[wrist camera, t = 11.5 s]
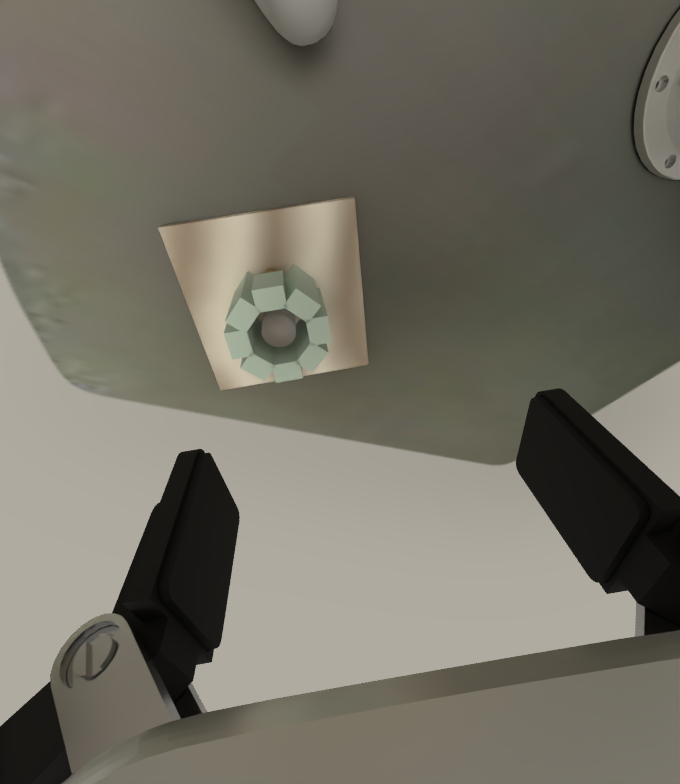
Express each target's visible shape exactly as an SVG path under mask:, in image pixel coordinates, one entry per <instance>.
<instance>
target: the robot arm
mask: <svg viewBox="0 0 680 784" xmlns="http://www.w3.org/2000/svg"><path fill="white" fill-rule="evenodd" d="M634 137H635V144H636V149H637V152H638V154H639V156H640V159H641V161H642V163H643V164H644V165H645V166H646V167H647V169H648V170H649V171H650V172H652V173H654V174H655V175H657V176H659V177H662V178H666V179H670V180H680V9H679V11H678V12H677V13H676V15H675V16H674V18H673V19H672V20H671V22H670V23H669V25H668V27H667V29H666V30H665V32H664V34H663V35H662V37H661V39H660V41H659V42H658V44H657V46H656V48H655V50H654V52H653V55H652V57H651V59H650V61H649V64H648V66H647V68H646V70H645V74H644V77H643V80H642V83H641V86H640V89H639V92H638V97H637V103H636V108H635V114H634ZM516 467H517V470H518V472H519V474H520V475H521V477H522V478H523V480H524V481H525V483H526V484H527V486H528V487H529V489H530V490H531V492H532V493H533V494H534V496H535V498H536V499H537V501H538V502H539V503H540V505H541V506H542V508H543V509H544V511H545V512H546V514H547V515H548V517H549V518H550V520H551V521H552V523H553V524H554V525H555V527H556V529H557V530H558V532H559V533H560V535H561V536H562V538H563V539H564V540H565V542H566V543H567V545H568V546H569V548H570V549H571V551H572V552H573V554H574V555H575V557H576V558H577V559H578V561H579V563H580V564H581V566H582V567H583V568H584V570H585V571H586V573H587V574H588V576H589V577H590V578H591V579H592V580H593V581H595V582H599V583H600V585H601V586H602V588H603V589H604V590H605V592H606V593H607V594H609V593H615V592H621V591H627V590H628V591H629V592H630V593H631V595H632V596H633V597H634V599H635V600H636V629H635V630H636V631H635V637H631V638H624V639H618V640H612V641H606V642H600V643H594V644H588V645H582V646H576V647H570V648H565V649H558V650H552V651H546V652H540V653H534V654H528V655H523V656H516V657H511V658H505V659H499V660H493V661H488V662H482V663H476V664H470V665H465V666H459V667H453V668H447V669H441V670H435V671H430V672H424V673H419V674H412V675H407V676H401V677H395V678H389V679H384V680H378V681H373V682H368V683H361V684H356V685H350V686H344V687H339V688H333V689H328V690H322V691H316V692H311V693H305V694H300V695H294V696H289V697H283V698H277V699H272V700H267V701H262V702H257V703H252V704H247V705H242V706H237V707H232V708H226V709H222V710H217V711H212V712H207V711H206V709H205V707H204V705H203V703H202V702H201V700H200V698H199V696H198V695H197V693H196V690H195V689H194V687H193V685H192V683H191V682H192V681H193V678H194V673H195V667H196V665H198V664H204V663H209V662H212V657H213V650H214V649H215V648H218V647H219V645H220V642H221V638H222V631H223V625H224V618H225V612H226V605H227V599H228V592H229V586H230V579H231V572H232V565H233V559H234V552H235V545H236V539H237V532H238V526H239V511H238V508H237V506H236V504H235V502H234V500H233V498H232V496H231V494H230V492H229V490H228V488H227V486H226V484H225V482H224V480H223V478H222V476H221V474H220V472H219V470H218V468H217V466H216V464H215V462H214V460H213V458H212V456H211V454H210V453H205V452H204V451H203V450H202V449H197V450H191V451H185V452H181V453H179V455H178V457H177V459H176V462H175V464H174V467H173V470H172V472H171V475H170V478H169V481H168V483H167V485H166V488H165V491H164V493H163V496H162V499H161V501H160V503H158V504H157V505H156V506H155V507H154V509H153V511H152V513H151V515H150V518H149V520H148V523H147V526H146V528H145V531H144V533H143V536H142V538H141V541H140V543H139V546H138V548H137V551H136V554H135V556H134V559H133V561H132V564H131V566H130V569H129V571H128V574H127V577H126V579H125V582H124V584H123V587H122V589H121V592H120V594H119V597H118V600H117V602H116V605H115V607H114V610H113V612H112V613H111V614H103V615H100V616H98V617H95V618H93V619H91V620H90V621H88V622H87V623H85V624H84V625H82V626H81V627H80V628H79V629H78V630H77V631H76V632H75V633H73V634H72V635H71V637H70V638H69V639H68V640H67V642H66V643H65V644H64V645H63V647H62V648H61V650H60V651H59V654H58V655H57V657H56V659H55V661H54V664H53V667H52V671H51V675H50V677H51V681H50V682H49V683H48V684H47V685H46V686H45V687H43V688H42V689H41V690H40V691H39V692H38V693H37V694H36V695H35V696H33V697H32V698H31V699H30V700H29V701H28V702H27V703H26V704H25V705H24V706H22V707H21V708H20V709H19V710H18V711H17V712H16V713H15V714H14V715H13V716H11V717H10V718H9V719H8V720H7V721H6V722H5V723H4V724H3V725H1V726H0V784H680V496H678V495H677V494H676V493H675V492H674V491H673V490H672V489H671V488H670V487H669V486H667V485H666V484H665V483H664V482H663V481H662V480H661V479H660V478H659V477H658V476H657V475H655V473H653V472H652V471H651V470H650V469H649V468H648V467H647V466H646V465H645V464H644V463H643V462H641V461H640V460H639V459H638V458H637V457H636V456H635V455H634V454H633V453H632V452H631V451H629V450H628V449H627V448H626V447H625V446H624V445H623V444H622V443H621V442H620V441H619V440H617V439H616V438H615V437H614V436H613V435H612V434H611V433H609V431H608V430H607V429H606V428H605V427H603V426H602V425H601V424H600V423H599V422H598V421H597V420H596V419H595V418H594V417H593V416H591V415H590V414H589V413H588V412H587V411H586V410H585V409H584V408H583V407H582V406H581V405H580V404H578V403H577V402H576V401H575V400H574V399H573V398H572V397H571V396H570V395H569V394H568V393H566V392H565V391H564V390H563V389H559V388H558V389H552V390H546V391H541V392H538V393H537V394H536V396H535V398H532V399H531V401H530V405H529V409H528V413H527V417H526V421H525V426H524V430H523V434H522V438H521V443H520V447H519V451H518V455H517V460H516Z"/></svg>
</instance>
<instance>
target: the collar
mask: <svg viewBox="0 0 680 784" xmlns="http://www.w3.org/2000/svg"><path fill="white" fill-rule="evenodd" d="M279 309H287V310H288V311H290V312H291V313H293V314H294V315H296V316H298V317H299V318H300V320H299V321H298V322H297V324H296V336H295V339H294V341H293V342H292V343H291V344H289V345H287V346H285V347H274V346H271V345H269V344H268V343H267V342H266V341H265V340H264V338H263V336H262V322H261V321H259V320H258V319H257V316H258V315H259V313H261V312H267V311H273V310H279ZM225 322H226V323H227V324H226V327H225V330H224V336H225V339H226V342H227V345H228V348H229V351H230V354H231V357H232V360H233V359H239V358H242V361H241V366H240V368H241V369H243V370H245V371H246V372H248V373H250V374H252V375H254V376H256V377H258V378H260V379H262V380H263V381H265V380H266V379H267V378H268V376H269V375H270V374H271V372H272V371H273V373H274V377H275V381H276V383H279V382H284V381H290V380H296V379H301V378H303V374H302V367H303V368H305V369H307V370H308V371H310V372H312V373H313V371H314V370H315V369H316V368H317V367H318V365H319V364H320V363H321V362H322V360H323V359H324V358H325V357H326V355H327V354H328V353H329V352H328V348H327V344H326V343H331V335H330V328H329V322H328V315H327V312H326V308H325V305H324V301H323V298H322V294H321V291H320V288H316V284H315V280H314V278H312V277H311V276H310V275H308V274H307V273H305V272H304V271H303V270H301V269H300V268H299V267H297V266H296V265H294V264H293V265H292V266H291V268H290V269H289V270H288V272H287V273H286V275H285V276H284V275H283V270H281V271H275V272H269V273H263V274H257V275H253V274H251V273H250V272H249V271H247V273H246V274H245V276H244V278H243V279H242V281H241V282H240V284H239V286H238V287H237V289H236V290H235V292H234V295H233V298H232V301H231V304H230V308H229V311H228V314H227V317H226V320H225Z"/></svg>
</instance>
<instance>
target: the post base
mask: <svg viewBox="0 0 680 784" xmlns="http://www.w3.org/2000/svg"><path fill="white" fill-rule="evenodd" d="M158 229H159V231H160V234H161V237H162V239H163V242H164V244H165V247H166V250H167V252H168V255H169V257H170V260H171V263H172V265H173V268H174V270H175V273H176V276H177V278H178V281H179V283H180V286H181V289H182V291H183V294H184V296H185V299H186V302H187V304H188V307H189V309H190V312H191V315H192V317H193V320H194V322H195V325H196V328H197V330H198V333H199V335H200V338H201V341H202V343H203V346H204V348H205V351H206V354H207V356H208V359H209V361H210V364H211V367H212V369H213V372H214V374H215V377H216V380H217V382H218V385H219V387H220V390H227V389H232V388H238V387H244V386H249V385H255V384H261V383H267V382H272V381H275V377H274V373H273V371H272V372H271V374H270V375H269V376H268V378H267V379H266V380H265V381H263V380H262V379H260V378H258V377H256V376H254V375H252V374H250V373H248V372H246V371H245V370H243V369H241V368H240V366H241V361H242V358H239V359H233V360H232V357H231V354H230V351H229V348H228V345H227V342H226V339H225V336H224V330H225V327H226V324H227V323H226V322H225V320H226V317H227V314H228V311H229V308H230V304H231V301H232V298H233V295H234V292H235V290H236V289H237V287H238V286H239V284H240V282H241V281H242V279H243V278H244V276H245V274H246V273H247V271H249V272H250V273H251V274H253V275H257V274H263V273H269V272H275V271H281V270H283V275H284V276H285V275H286V273H287V272H288V270H289V269H290V268H291V266H292V265H293V264H294V265H296V266H297V267H299V268H300V269H301V270H303V271H304V272H305V273H307V274H308V275H310V276H311V277H312V278H314V280H315V284H316V288H320V291H321V294H322V298H323V301H324V305H325V308H326V312H327V315H328V322H329V328H330V335H331V343H326V344H327V348H328V352H329V353H328V354H327V355H326V357H325V358H324V359H323V360H322V362H321V363H320V364H319V365H318V367H317V368H316V369H315V370H314V371H313V373H312V372H310V371H308V370H307V369H305V368H303V367H302V374H303V376H307V375H312V374H318V373H324V372H329V371H335V370H341V369H347V368H352V367H358V366H364V365H368V353H367V341H366V328H365V316H364V304H363V292H362V280H361V268H360V255H359V243H358V231H357V219H356V207H355V198H354V197H353V196H352V197H345V198H339V199H332V200H326V201H319V202H312V203H306V204H299V205H293V206H286V207H279V208H273V209H266V210H260V211H253V212H247V213H240V214H233V215H227V216H220V217H214V218H207V219H200V220H194V221H187V222H181V223H174V224H167V225H162V226H160V227H159V228H158ZM257 319H258V320H259V321H261V322H262V336H263V338H264V340H265V341H266V342H267V343H268V344H269V345H271V346H274V347H285V346H287V345H289V344H291V343H292V342H293V341H294V339H295V336H296V324H297V322H298V321H299V320H300V318H299V317H298V316H296V315H294V314H293V313H291V312H290V311H288V310H287V309H279V310H273V311H267V312H261V313H259V315H258V316H257Z"/></svg>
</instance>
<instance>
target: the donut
mask: <svg viewBox="0 0 680 784" xmlns="http://www.w3.org/2000/svg"><path fill="white" fill-rule="evenodd" d="M254 1H255V2H256V4H257V5H258V7H259V8H260V10H261V11H262V12H263V14H264V15H265V17H266V18H267V19H268V20H269V22H270V23H271V24H272V26H273V27H274V28H275V30H276V31H277V32H278V33H279V34H280V35H281V36H282V37H283V38H285V39H286V40H288V41H289V42H291V43H292V44H295V45H299V46H306V45H310V44H313V43H316V42H318V41H319V40H320V39H322V38H323V37H325V36H326V34H327V33H328V31H329V30H330V28H331V27H332V26H333V23H334V20H335V17H336V14H337V9H338V0H254Z"/></svg>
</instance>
